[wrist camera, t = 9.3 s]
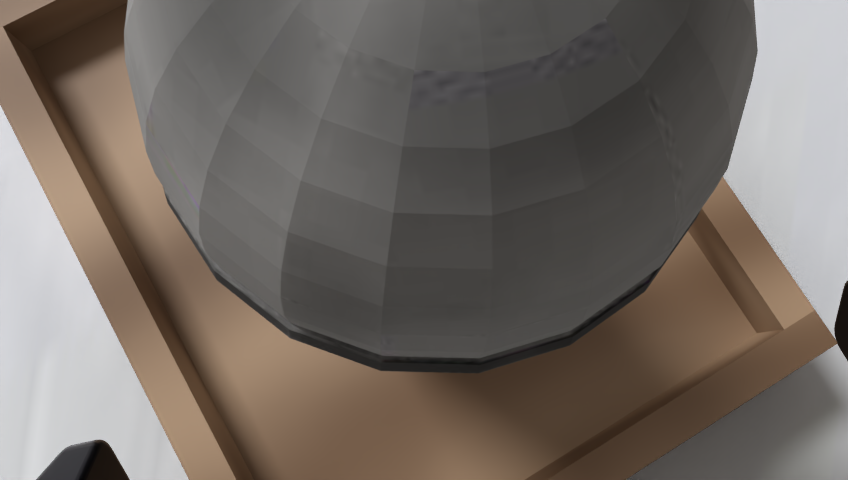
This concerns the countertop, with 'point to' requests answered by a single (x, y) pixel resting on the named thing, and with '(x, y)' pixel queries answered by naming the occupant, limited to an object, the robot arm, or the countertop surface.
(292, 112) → the beverage cup
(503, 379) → the walnut tray
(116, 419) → the countertop surface
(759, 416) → the countertop surface
